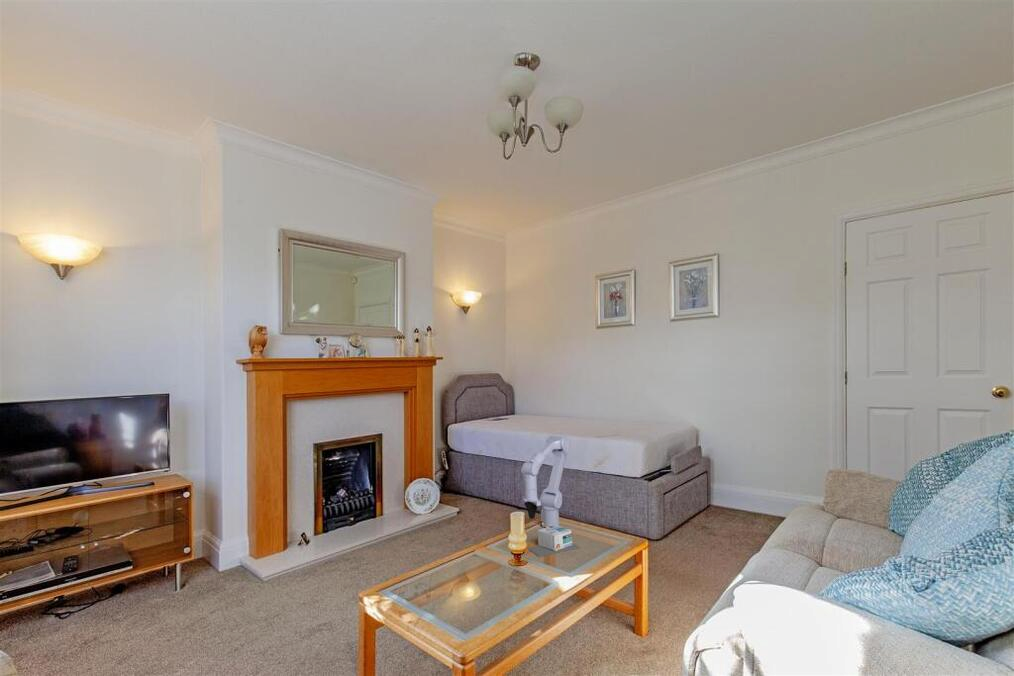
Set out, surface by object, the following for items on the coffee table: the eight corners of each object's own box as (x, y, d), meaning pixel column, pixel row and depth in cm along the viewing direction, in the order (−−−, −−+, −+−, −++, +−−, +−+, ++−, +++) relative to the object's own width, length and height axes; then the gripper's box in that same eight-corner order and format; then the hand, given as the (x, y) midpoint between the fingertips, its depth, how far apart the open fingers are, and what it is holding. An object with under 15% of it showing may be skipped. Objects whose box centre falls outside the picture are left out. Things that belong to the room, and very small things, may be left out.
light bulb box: (554, 524, 217) (572, 529, 208) (555, 539, 216) (573, 545, 208) (537, 529, 210) (554, 535, 202) (538, 545, 209) (555, 551, 201)
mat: (527, 548, 207) (527, 548, 207) (566, 540, 215) (566, 539, 215) (539, 556, 197) (539, 556, 197) (580, 547, 206) (580, 547, 206)
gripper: (516, 486, 230) (517, 515, 229) (530, 492, 217) (531, 523, 216) (529, 484, 233) (530, 513, 232) (544, 490, 220) (545, 521, 219)
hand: (532, 518), depth 224 cm, fingers closed
